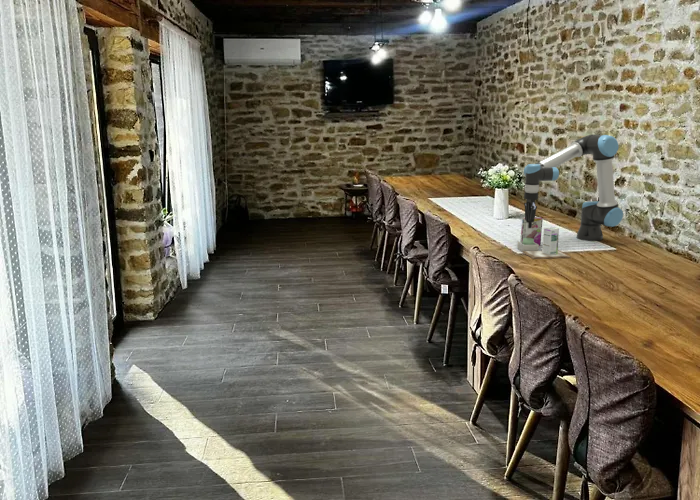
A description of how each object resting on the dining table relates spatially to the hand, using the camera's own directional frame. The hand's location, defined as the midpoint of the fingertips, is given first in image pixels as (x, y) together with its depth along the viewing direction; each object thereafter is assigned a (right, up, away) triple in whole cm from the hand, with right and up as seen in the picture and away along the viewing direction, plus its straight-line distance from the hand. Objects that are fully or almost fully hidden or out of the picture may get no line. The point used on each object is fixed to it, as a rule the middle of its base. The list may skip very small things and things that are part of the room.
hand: (528, 233), depth 345 cm
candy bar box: (+6, -6, +16) cm, 18 cm away
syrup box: (+9, -12, -10) cm, 18 cm away
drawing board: (+7, -12, -10) cm, 17 cm away
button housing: (0, -9, +2) cm, 10 cm away
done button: (0, -7, +2) cm, 7 cm away
